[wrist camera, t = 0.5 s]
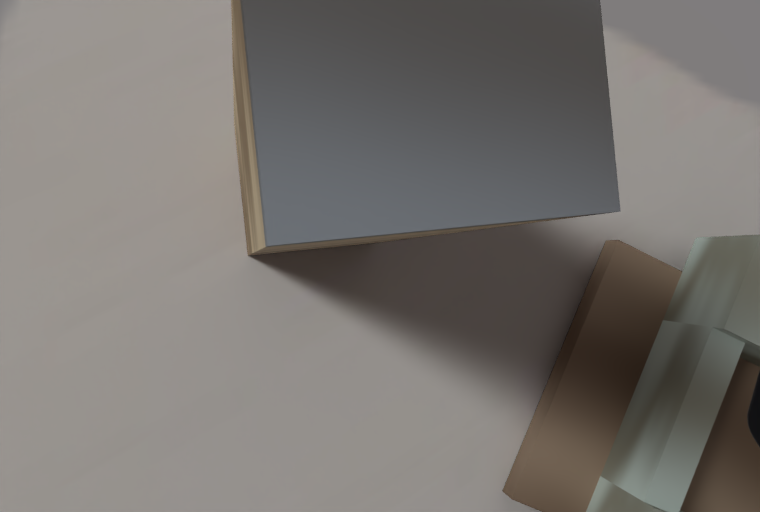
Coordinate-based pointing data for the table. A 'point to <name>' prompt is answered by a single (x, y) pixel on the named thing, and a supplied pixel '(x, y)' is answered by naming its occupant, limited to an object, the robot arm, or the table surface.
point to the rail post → (417, 118)
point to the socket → (652, 389)
